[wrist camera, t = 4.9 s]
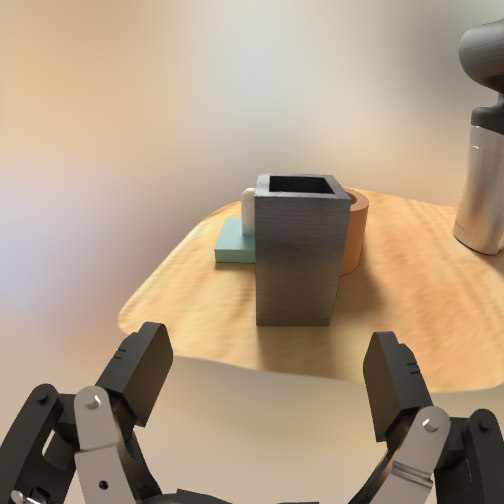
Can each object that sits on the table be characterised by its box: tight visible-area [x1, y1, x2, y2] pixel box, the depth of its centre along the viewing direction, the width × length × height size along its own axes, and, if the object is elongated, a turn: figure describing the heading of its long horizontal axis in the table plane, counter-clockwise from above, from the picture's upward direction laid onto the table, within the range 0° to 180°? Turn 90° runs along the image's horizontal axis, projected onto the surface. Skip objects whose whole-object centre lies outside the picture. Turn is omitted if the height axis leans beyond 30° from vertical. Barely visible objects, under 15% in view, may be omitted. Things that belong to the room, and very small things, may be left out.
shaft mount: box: [215, 188, 256, 263], centre depth 30 cm, size 7×8×7 cm
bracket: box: [340, 187, 369, 276], centre depth 31 cm, size 18×8×7 cm, turn 162°
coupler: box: [254, 173, 352, 326], centre depth 20 cm, size 6×6×10 cm
